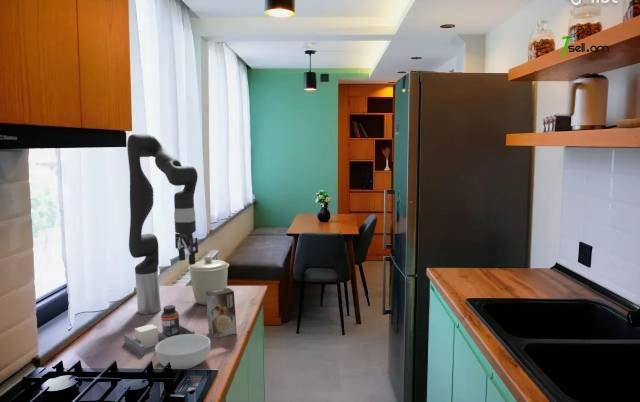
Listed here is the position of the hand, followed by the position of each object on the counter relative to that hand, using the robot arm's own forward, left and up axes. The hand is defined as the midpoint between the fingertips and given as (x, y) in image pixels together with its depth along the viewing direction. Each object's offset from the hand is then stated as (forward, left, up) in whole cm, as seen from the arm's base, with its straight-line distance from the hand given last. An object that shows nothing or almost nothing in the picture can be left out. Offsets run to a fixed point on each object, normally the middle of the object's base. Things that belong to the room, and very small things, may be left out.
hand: (187, 262), depth 184 cm
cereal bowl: (+28, -17, -26) cm, 42 cm away
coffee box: (+13, +6, -26) cm, 30 cm away
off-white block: (+7, -20, -24) cm, 32 cm away
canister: (-25, +23, -26) cm, 43 cm away
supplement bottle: (+6, -11, -25) cm, 28 cm away
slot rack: (+7, -15, -26) cm, 31 cm away
